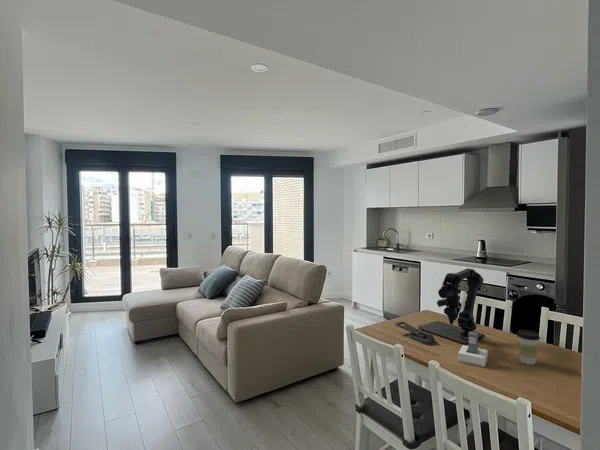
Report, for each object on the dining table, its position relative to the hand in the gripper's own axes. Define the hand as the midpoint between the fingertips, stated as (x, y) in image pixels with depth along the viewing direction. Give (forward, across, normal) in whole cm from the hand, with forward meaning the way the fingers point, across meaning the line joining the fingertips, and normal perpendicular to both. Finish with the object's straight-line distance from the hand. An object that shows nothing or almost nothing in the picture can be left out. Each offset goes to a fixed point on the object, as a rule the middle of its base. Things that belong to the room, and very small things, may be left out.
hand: (452, 322), depth 196 cm
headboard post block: (+13, +16, +13) cm, 24 cm away
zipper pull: (+13, +1, -22) cm, 25 cm away
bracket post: (+12, +16, +13) cm, 24 cm away
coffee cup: (+13, +4, +36) cm, 39 cm away
